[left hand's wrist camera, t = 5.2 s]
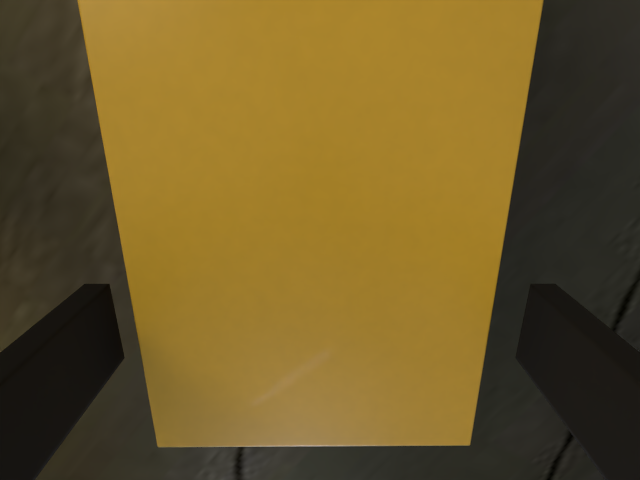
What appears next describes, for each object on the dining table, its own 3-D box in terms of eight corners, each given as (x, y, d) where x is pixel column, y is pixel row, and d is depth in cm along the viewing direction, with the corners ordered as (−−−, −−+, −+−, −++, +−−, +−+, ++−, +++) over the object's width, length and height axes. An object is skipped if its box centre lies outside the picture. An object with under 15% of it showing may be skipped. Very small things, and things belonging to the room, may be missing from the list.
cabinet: (187, -129, 16) (-8, -467, 7) (439, -128, 17) (622, -463, 7) (225, 297, 23) (157, 448, 13) (405, 297, 23) (470, 446, 13)
